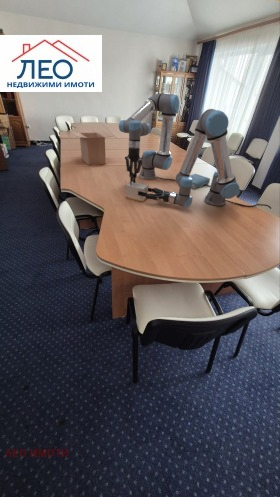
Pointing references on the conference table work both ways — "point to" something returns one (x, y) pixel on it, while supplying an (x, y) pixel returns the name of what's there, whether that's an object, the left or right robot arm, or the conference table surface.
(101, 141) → the box
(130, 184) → the lid
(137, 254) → the conference table surface
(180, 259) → the conference table surface
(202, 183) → the book
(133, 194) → the chest
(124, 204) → the conference table surface
